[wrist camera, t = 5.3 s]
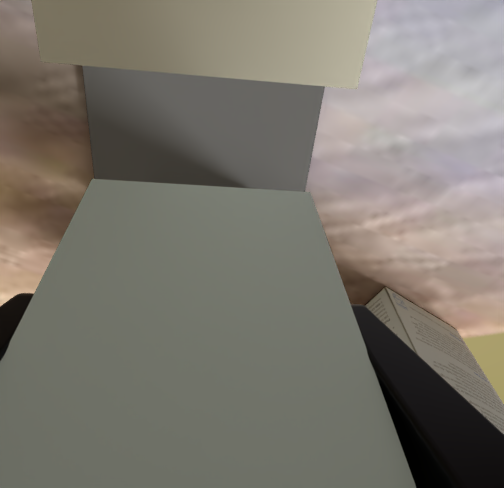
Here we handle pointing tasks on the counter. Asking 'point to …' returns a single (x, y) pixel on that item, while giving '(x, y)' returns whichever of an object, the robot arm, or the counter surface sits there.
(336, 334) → the domino
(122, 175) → the mat
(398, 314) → the light bulb box
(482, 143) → the counter surface
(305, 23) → the domino
